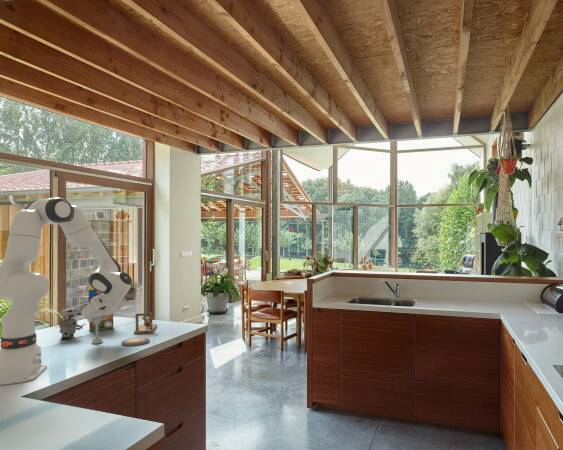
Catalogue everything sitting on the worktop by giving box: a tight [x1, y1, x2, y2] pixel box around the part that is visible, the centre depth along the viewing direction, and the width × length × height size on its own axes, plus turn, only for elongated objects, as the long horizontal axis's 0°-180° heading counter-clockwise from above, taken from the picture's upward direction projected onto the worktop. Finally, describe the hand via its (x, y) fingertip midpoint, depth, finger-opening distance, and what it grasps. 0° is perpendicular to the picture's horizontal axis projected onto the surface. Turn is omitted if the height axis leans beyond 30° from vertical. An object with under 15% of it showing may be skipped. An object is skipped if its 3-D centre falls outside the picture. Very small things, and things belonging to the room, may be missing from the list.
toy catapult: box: [133, 312, 158, 335], centre depth 234 cm, size 16×9×10 cm, turn 7°
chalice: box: [91, 316, 104, 344], centre depth 210 cm, size 7×7×18 cm
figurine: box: [58, 306, 87, 341], centre depth 222 cm, size 9×12×15 cm
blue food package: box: [88, 284, 114, 332], centre depth 239 cm, size 6×12×25 cm, turn 117°
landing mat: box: [120, 337, 151, 347], centre depth 208 cm, size 13×13×1 cm
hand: (95, 319), depth 210 cm, fingers closed on chalice, 6 cm apart
